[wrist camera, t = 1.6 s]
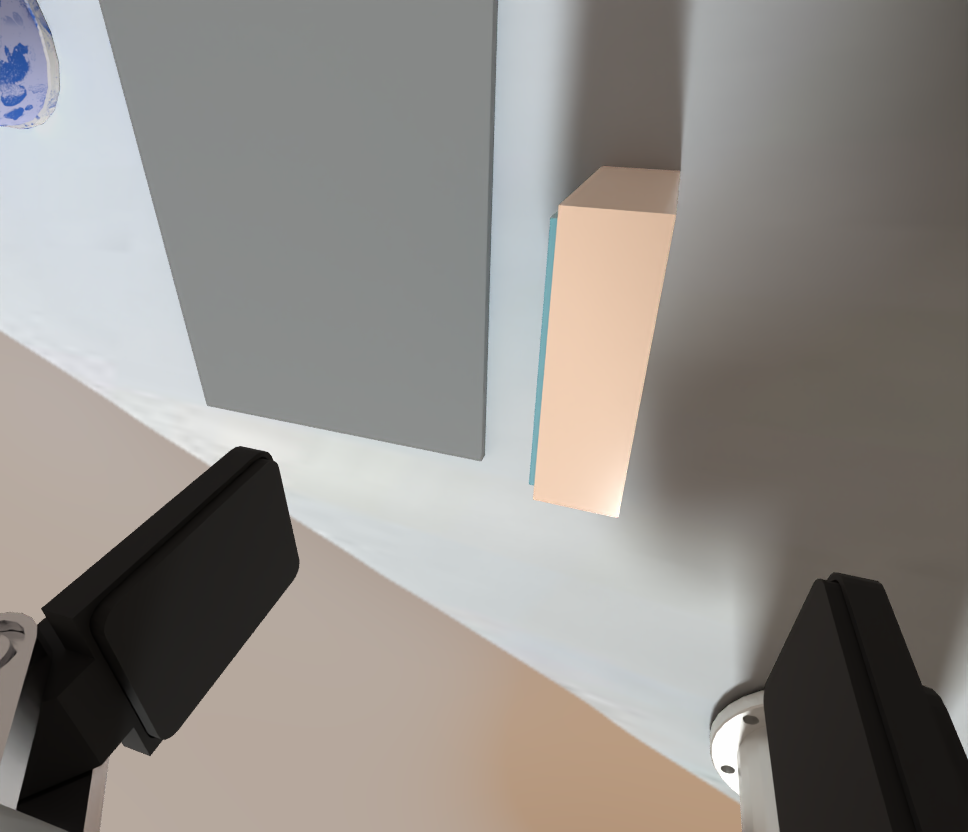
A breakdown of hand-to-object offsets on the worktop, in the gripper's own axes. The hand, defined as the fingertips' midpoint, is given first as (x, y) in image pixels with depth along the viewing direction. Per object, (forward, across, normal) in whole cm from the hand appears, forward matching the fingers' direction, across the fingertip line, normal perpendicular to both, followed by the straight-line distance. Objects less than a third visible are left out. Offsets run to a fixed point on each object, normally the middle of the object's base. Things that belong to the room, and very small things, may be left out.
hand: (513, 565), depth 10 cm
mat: (+18, +14, 0) cm, 23 cm away
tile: (+18, 0, +1) cm, 18 cm away
